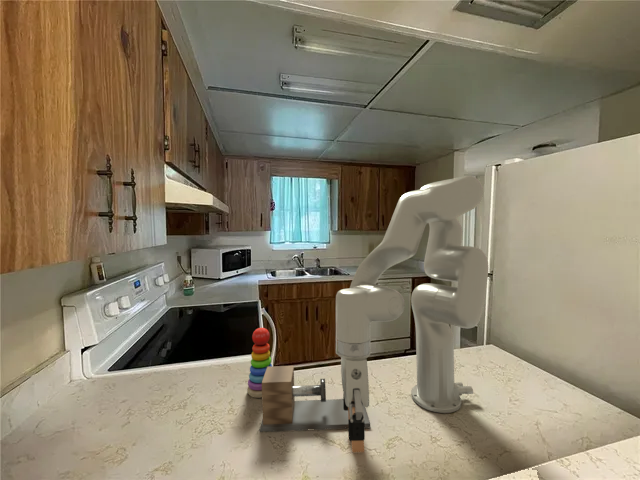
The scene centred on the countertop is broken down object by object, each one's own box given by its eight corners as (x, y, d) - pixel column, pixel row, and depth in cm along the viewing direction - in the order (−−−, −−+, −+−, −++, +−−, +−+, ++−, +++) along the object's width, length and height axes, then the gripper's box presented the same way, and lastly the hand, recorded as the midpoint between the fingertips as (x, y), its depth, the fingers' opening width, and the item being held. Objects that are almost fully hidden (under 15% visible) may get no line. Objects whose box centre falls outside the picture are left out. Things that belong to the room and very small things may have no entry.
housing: (362, 401, 75) (361, 361, 75) (370, 427, 65) (369, 380, 65) (267, 405, 74) (266, 364, 74) (260, 431, 64) (258, 385, 64)
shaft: (325, 394, 72) (324, 374, 72) (326, 406, 67) (325, 385, 67) (265, 396, 72) (264, 376, 72) (261, 409, 67) (260, 387, 67)
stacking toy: (268, 400, 77) (266, 333, 76) (242, 398, 78) (240, 332, 78) (278, 385, 84) (277, 324, 84) (254, 383, 86) (252, 323, 86)
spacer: (359, 430, 64) (358, 405, 64) (364, 452, 58) (363, 423, 58) (348, 430, 64) (348, 405, 64) (352, 452, 58) (351, 424, 57)
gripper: (379, 363, 52) (379, 454, 52) (363, 332, 69) (363, 400, 69) (339, 363, 52) (339, 454, 52) (333, 332, 69) (333, 400, 69)
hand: (353, 423), depth 60 cm, fingers open, 9 cm apart
